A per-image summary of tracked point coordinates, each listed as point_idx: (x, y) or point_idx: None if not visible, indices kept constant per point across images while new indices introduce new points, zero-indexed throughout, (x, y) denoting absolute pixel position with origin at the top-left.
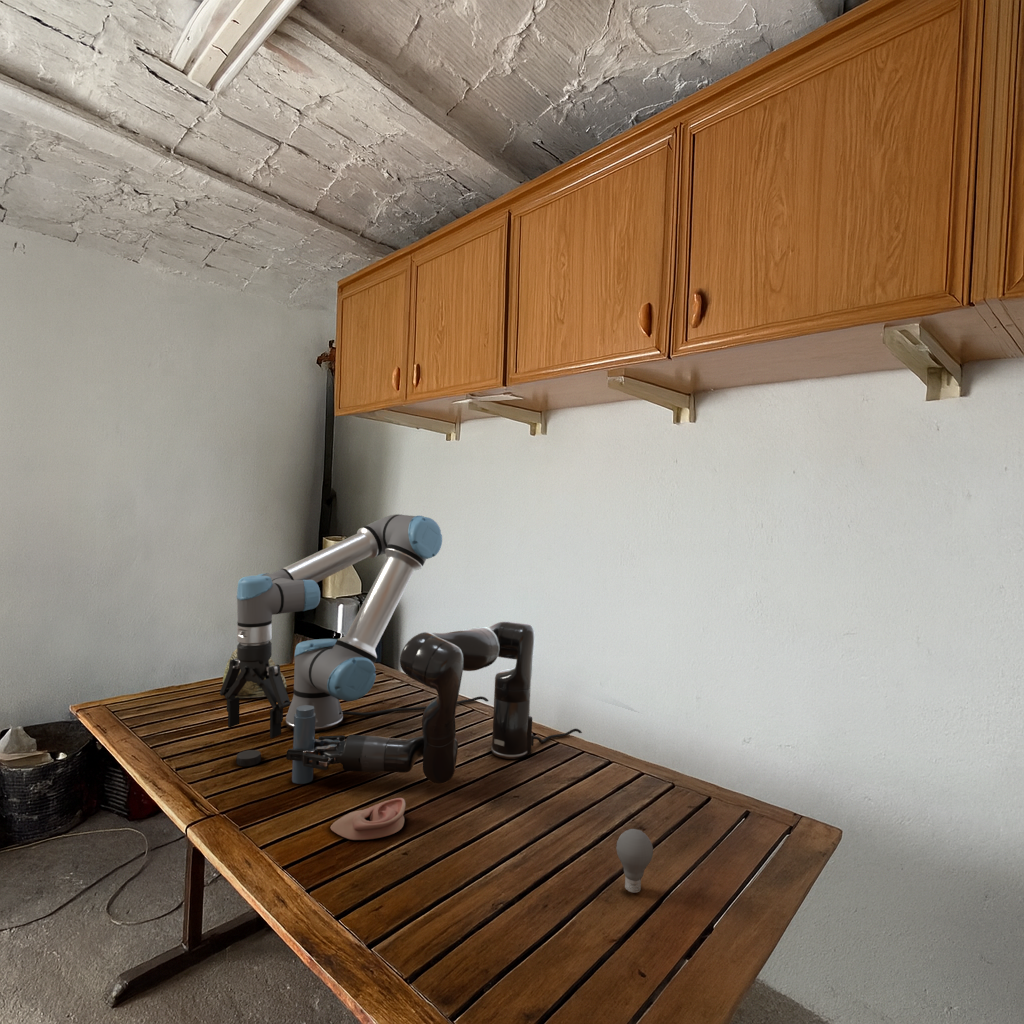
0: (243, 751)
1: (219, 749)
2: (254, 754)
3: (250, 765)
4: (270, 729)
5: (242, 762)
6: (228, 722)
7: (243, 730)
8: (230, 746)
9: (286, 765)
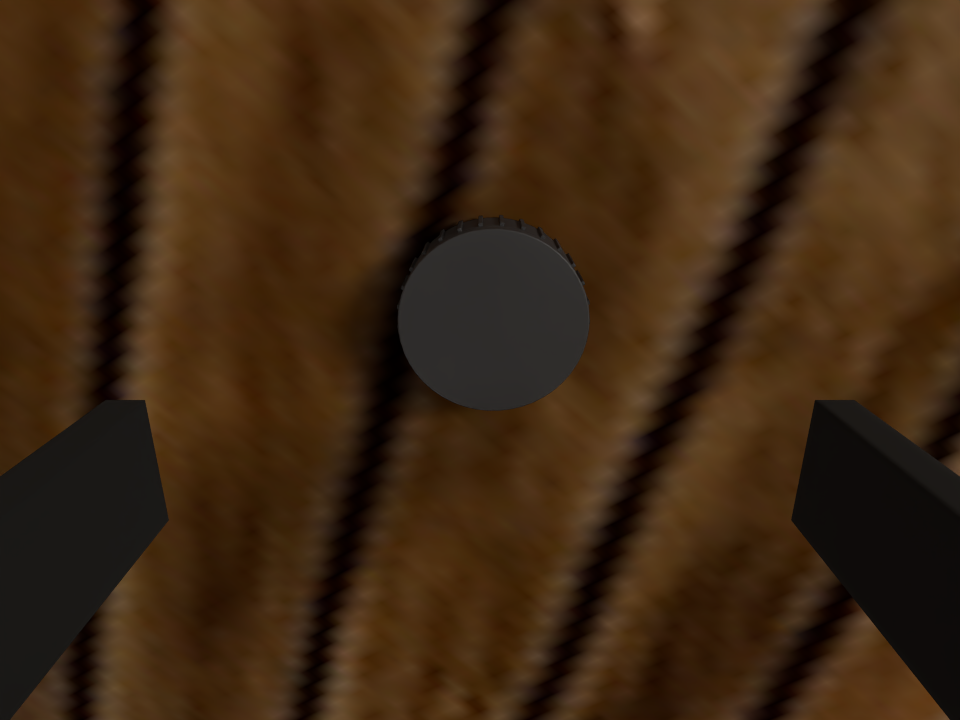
0: (578, 342)
1: (872, 356)
2: (450, 345)
3: (415, 257)
4: (75, 449)
5: (465, 226)
6: (880, 426)
7: None
8: None
9: (213, 396)
